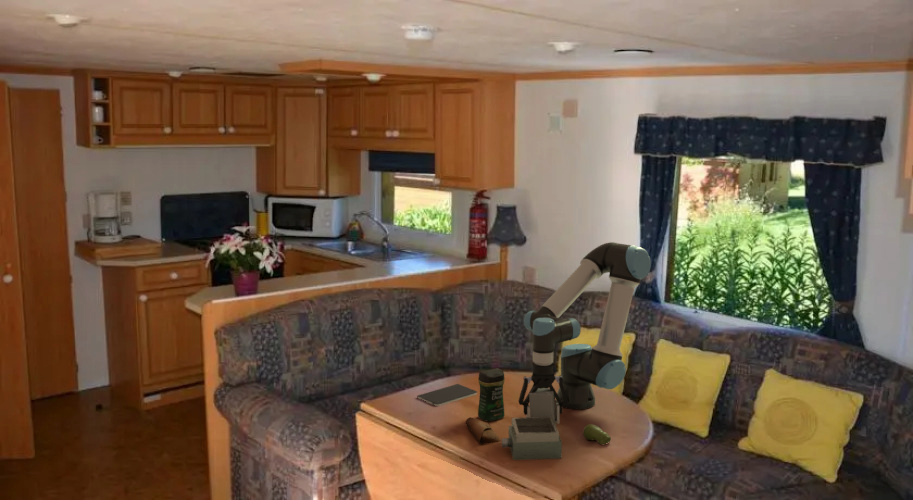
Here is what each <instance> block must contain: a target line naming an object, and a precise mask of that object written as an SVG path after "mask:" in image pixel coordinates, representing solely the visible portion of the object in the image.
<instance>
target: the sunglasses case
mask: <svg viewBox="0 0 913 500" xmlns="http://www.w3.org/2000/svg"><path fill="white" fill-rule="evenodd" d="M465 425H466V427H467V428H468V429H469V431H470V432H471V433H472V435H473V436H474V437H475V439H476V440H477V442H478V443H479V444H480V445H482V446H483V445H489V444H495V443H502V439H501V438H500V437H499V435H498V434H497V433H496V432H495V430H494V429H493V428H492V426H491V425H490V424H489V423H488V422H487V421H486V422H485V421H483V420H481V419H477V418H475V417H468V418H466V420H465Z"/></svg>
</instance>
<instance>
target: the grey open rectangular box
mask: <svg viewBox="0 0 913 500" xmlns="http://www.w3.org/2000/svg"><path fill="white" fill-rule="evenodd" d="M562 443H563V440H562V439H561V437H560V432H559V429H558V427H557V424H556V425H555V422H554V420H553V418H552V417H527V416H526V417H525V416H524V417H511V425H509V426H508V437H503V438H501V447H502V448H510V449H509V450H510V453H511V457H512V460H513V461H517V460H519V461H521V460H523V461H525V460H554V459H555V460H558V459H559V460H560V459H562V456H563V455H562V453H563V452H562V451H563V450H562V448H563V446H562V445H563V444H562Z"/></svg>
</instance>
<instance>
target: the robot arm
mask: <svg viewBox="0 0 913 500" xmlns="http://www.w3.org/2000/svg"><path fill="white" fill-rule="evenodd" d="M579 262H580V265H579V266H578V267H577V268H576V269H575V270H574V271H573V272H572V274H571V275H569V277H567V279H566V280H565V281H564V282H563V283H562V284H561V285H560V286H559V287H558V288H557V289H556V291H554V292H553V293H552V295H551V296H549V297H548V299H547V300H546V301H545V302H544V303H543V304H542V305H541V306H540V308H538V310H530V311H528V312H527V313H526V314H525V316H524V317H523V325H524V327H525V329H526V330H528V331H530V332H532V373H531V375H530V376H526V375H525V376H523V383H522V388H521V391H520V395H519V397H518V404H519V405H520V406H523V414H524V415H525V416H526V417H530V402H529V393H530V392H531V393H534V392H536V391H537V389H538V388H539V389H541V388H550V390H551V391H553V392H554V396H555V408H556V425H558V424H560V415H561V414H563V408H565V409H569V410H585V409H590V408H592V407H594V406H595V405H596V396H595V393H594V390H593V386H597V387H599V388H600V389H606V390H613V389H616V388H617V387H618V386H619V385H621V384H622V382H623V380H624V378H625V377H626V373H627V372H626V371H627V368H626V364H625V362H623V361H622V359H623V355H624V354H623V353H622V352H621V345H622V341H623V338H624V333H625V329H626V324H627V322H628V317H629V312H630V307H631V304H632V299H633V296H634V291H635V289H636V287H637V286H639V285H640V284H641V281H642V279H643V280H644V279H645V278H647V276H648V275H649V273H650V272H651V271H650V270H651V267H652V266H651V264H652V261H651V257H650V256H649V253H648V251H647V250H646V249H645V248H642V247H640V246H637V245H633V244H625V243H624V244H623V243H618V242H612V241H609V242H605V243H602V244H600V245H598V246H596V247H595V248H593V249H592V250H591V251H590V252H588V253H587V254H586V255H585V256H584V257H583V258H582V259H581V260H580V261H579ZM607 273H609V275H608V278H609V280H610V282H611V284H610V288H609V293H608V297H607V300H606V306H605V310H604V314H603V317H602V322H601V325H600V330H599V334H598V339H597V343H596V344H595V345H594V346H592V345H591V344H586V343H574V344H573V343H572V344H568V345H565V346H563V347H562V348H561V351H560V352H561V354H560V375H558V376H557V375H555V363H554V362H555V345H556V344H558V343H563V342H567V341H571V340H575V339H576V338H579V336H580V335H581V332H582V331H581V328H582V326H581V324H580V322H579V321H578V320H577V319H576V318H574V317H567V318H564V319H563V318H560V317H561V316H562V315H563V314H564V313H565V311H567V309H569V307H570V306H572V304H573V303H574V302H575V301H576V299H578V298H579V297H580V296H581V294H583V292H584V291H585V290H586V289H587V288H588V287H589V286H590V285H591V284H592V283H593V281H594V280H595V279H599V278H601V277H602V276H603V275H605V274H607ZM531 381H532V383H533V384H532V387H531V388H530V390H529V392H528V393H527V390H528V386H529V384H530V383H531ZM555 381H556V382H557V383H558V388H557V389H558V390H557V391H556V389H555V388H554V386H553V383H554V382H555ZM592 385H593V386H592ZM526 393H527V396H526ZM525 396H526V397H525Z"/></svg>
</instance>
